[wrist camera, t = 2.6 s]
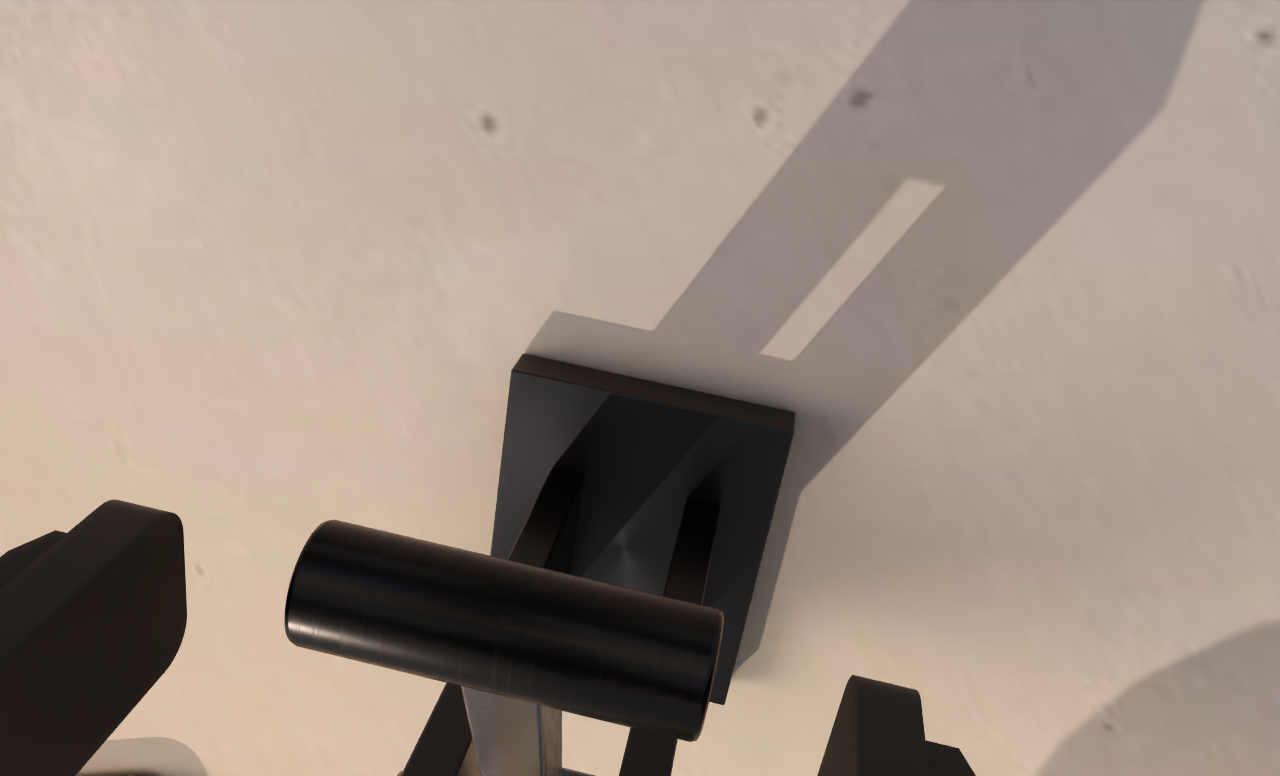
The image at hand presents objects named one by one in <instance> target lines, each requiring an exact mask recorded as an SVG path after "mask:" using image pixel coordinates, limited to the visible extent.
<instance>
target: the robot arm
mask: <svg viewBox="0 0 1280 776" xmlns="http://www.w3.org/2000/svg"><path fill="white" fill-rule="evenodd" d="M186 621H187V604H186V581H185V558H184V535H183V526H182V522H181V520H180V518H179V517H178V516H177V515H176V514H174V513H171V512H167V511H162V510H158V509H154V508H150V507H145V506H141V505H137V504H133V503H128V502H124V501H120V500H109V501H107V502H105V503H103V504H102V505H101V506H99V507H98V508H97V509H96V510H94V511H93V512H92V513H91V514H90V515H88V516H87V517H86V518H85V519H84V520H82V521H81V522H80V523H79V524H78V525H76V526H75V527H74V528H73V529H72V530H70V531H69V532H68V533H64V532H60V531H56V530H55V531H53V532H51V533H48V534H46V535H44V536H42V537H39V538H37V539H35V540H32V541H30V542H28V543H26V544H23V545H21V546H19V547H16V548H14V549H12V550H9V551H8V552H6V553H5V554H4V555H3V556H1V557H0V776H76V774H77V773H78V772H79V771H80V770H81V769H82V767H83V766H84V765H85V764H86V763H87V762H88V760H89V759H90V758H91V757H92V756H93V755H94V753H95V752H96V751H97V750H98V749H99V748H100V746H101V745H102V744H103V743H104V742H105V741H106V740H107V738H108V737H109V736H110V735H111V734H112V733H113V731H114V730H115V729H116V728H117V727H118V726H119V724H120V723H121V722H122V721H123V720H124V719H125V717H126V716H127V715H128V714H129V713H130V712H131V710H132V709H133V708H134V707H135V706H136V705H137V704H138V702H139V701H140V700H141V699H142V698H143V697H144V695H145V694H146V693H147V692H148V691H149V690H150V688H151V687H152V686H153V685H154V684H155V683H156V681H157V680H158V679H159V678H160V677H161V676H162V674H163V673H164V672H165V671H166V670H167V668H168V667H169V666H170V664H171V663H172V661H173V660H174V658H175V656H176V654H177V652H178V650H179V647H180V645H181V642H182V639H183V636H184V633H185V628H186ZM818 776H976V775H975V774H974V772H973V771H972V769H971V767H970V766H969V764H968V763H967V761H966V759H965V758H964V756H963V754H962V753H961V751H960V750H959V748H955V747H951V746H946V745H942V744H938V743H934V742H930V741H925V733H924V724H923V715H922V706H921V699H920V695H919V692H918V691H917V690H915V689H910V688H906V687H902V686H898V685H893V684H889V683H885V682H881V681H876V680H872V679H868V678H864V677H859V676H855V675H852V676H851V677H850V679H849V680H848V683H847V685H846V688H845V691H844V694H843V697H842V700H841V703H840V707H839V710H838V713H837V716H836V719H835V722H834V725H833V728H832V732H831V735H830V738H829V741H828V744H827V747H826V750H825V754H824V757H823V760H822V763H821V766H820V769H819V773H818Z"/></svg>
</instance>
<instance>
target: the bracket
mask: <svg viewBox="0 0 1280 776" xmlns="http://www.w3.org/2000/svg"><path fill="white" fill-rule="evenodd" d="M794 424H795V413H794V412H790V411H785V410H780V409H776V408H771V407H767V406H762V405H757V404H753V403H748V402H743V401H739V400H734V399H730V398H725V397H720V396H716V395H711V394H706V393H702V392H697V391H693V390H688V389H683V388H679V387H674V386H669V385H665V384H660V383H656V382H651V381H646V380H642V379H637V378H632V377H628V376H623V375H619V374H614V373H609V372H605V371H600V370H595V369H591V368H586V367H582V366H577V365H572V364H568V363H563V362H558V361H554V360H549V359H545V358H540V357H535V356H531V355H526V354H522V356H521V357H520V359H519V360H518V362H517V363H516V365H515V366H514V368H513V369H512V371H511V379H510V388H509V397H508V406H507V415H506V424H505V432H504V441H503V450H502V459H501V468H500V477H499V485H498V494H497V503H496V512H495V521H494V530H493V538H492V547H491V556H493V557H497V558H502V559H506V560H510V561H514V562H519V563H523V564H527V565H532V566H536V567H540V568H545V569H549V570H553V571H557V572H562V573H566V574H570V575H575V576H579V577H583V578H587V579H592V580H596V581H600V582H605V583H609V584H613V585H618V586H622V587H626V588H630V589H635V590H639V591H643V592H648V593H652V594H656V595H661V596H665V597H669V598H673V599H678V600H682V601H686V602H691V603H695V604H699V605H704V606H708V607H712V608H716V609H719V610H720V611H721V612H723V616H724V626H723V633H722V639H721V645H720V650H719V656H718V661H717V666H716V671H715V676H714V681H713V685H712V690H711V695H710V699H709V702H713V703H717V704H721V705H724V704H725V701H726V697H727V693H728V689H729V685H730V681H731V677H732V673H733V669H734V665H735V661H736V658H737V654H738V650H739V646H740V642H741V638H742V634H743V630H744V626H745V622H746V618H747V614H748V610H749V606H750V603H751V599H752V595H753V591H754V587H755V583H756V579H757V575H758V571H759V567H760V563H761V559H762V555H763V551H764V548H765V544H766V540H767V536H768V532H769V528H770V524H771V520H772V516H773V512H774V508H775V504H776V500H777V496H778V493H779V489H780V485H781V481H782V477H783V473H784V469H785V465H786V461H787V457H788V453H789V449H790V445H791V441H792V438H793V434H794ZM676 745H677V739H676V738H672V737H668V736H664V735H660V734H656V733H652V732H648V731H644V730H640V729H635V728H630V732H629V736H628V740H627V744H626V749H625V753H624V757H623V761H622V765H621V769H620V773H619V776H671V772H672V767H673V761H674V756H675V750H676ZM397 776H481V774H480V770H479V765H478V761H477V756H476V752H475V747H474V743H473V738H472V734H471V729H470V725H469V720H468V716H467V711H466V707H465V702H464V698H463V693H462V689H461V686H459V685H455V684H451V683H446V685H445V687H444V689H443V691H442V693H441V695H440V697H439V699H438V701H437V703H436V705H435V707H434V709H433V711H432V713H431V715H430V717H429V719H428V722H427V724H426V726H425V728H424V730H423V732H422V734H421V736H420V738H419V740H418V742H417V744H416V746H415V748H414V750H413V752H412V754H411V756H410V758H409V760H408V762H407V764H406V766H405V768H404V770H403V771H401V772H400V773H399V774H398V775H397Z"/></svg>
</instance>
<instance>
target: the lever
mask: <svg viewBox="0 0 1280 776" xmlns="http://www.w3.org/2000/svg"><path fill="white" fill-rule="evenodd" d="M723 626H724V616H723V612H721V611H720V610H719V609H716V608H712V607H708V606H704V605H699V604H695V603H691V602H686V601H682V600H678V599H673V598H669V597H665V596H661V595H656V594H652V593H648V592H643V591H639V590H635V589H630V588H626V587H622V586H618V585H613V584H609V583H605V582H600V581H596V580H592V579H587V578H583V577H579V576H575V575H570V574H566V573H562V572H557V571H553V570H549V569H545V568H540V567H536V566H532V565H527V564H523V563H519V562H514V561H510V560H506V559H502V558H497V557H493V556H489V555H484V554H480V553H476V552H471V551H467V550H463V549H459V548H454V547H450V546H446V545H441V544H437V543H433V542H428V541H424V540H420V539H416V538H411V537H407V536H403V535H398V534H394V533H390V532H385V531H381V530H377V529H373V528H368V527H364V526H360V525H355V524H351V523H347V522H343V521H338V520H330V521H325V522H323V523H322V524H320V525H319V526H318V527H317V528H316V529H315V531H314V532H313V533H312V534H311V536H310V537H309V539H308V541H307V542H306V544H305V546H304V548H303V550H302V552H301V554H300V556H299V558H298V561H297V563H296V566H295V568H294V571H293V574H292V577H291V581H290V584H289V589H288V593H287V599H286V606H285V631H286V635H287V637H288V639H289V640H290V641H291V642H292V643H293V644H294V645H296V646H299V647H303V648H307V649H311V650H315V651H319V652H323V653H327V654H331V655H336V656H340V657H344V658H348V659H352V660H356V661H360V662H364V663H368V664H373V665H377V666H381V667H385V668H389V669H393V670H397V671H401V672H405V673H410V674H414V675H418V676H422V677H426V678H430V679H434V680H438V681H442V682H446V683H451V684H455V685H459V686H461V689H462V693H463V698H464V702H465V707H466V711H467V716H468V720H469V725H470V729H471V734H472V738H473V743H474V747H475V752H476V756H477V761H478V765H479V770H480V774H481V776H594V775H590V774H586V773H582V772H578V771H574V770H570V769H566V768H562V711H566V712H570V713H574V714H578V715H582V716H586V717H590V718H594V719H598V720H603V721H607V722H611V723H615V724H619V725H623V726H627V727H631V728H635V729H640V730H644V731H648V732H652V733H656V734H660V735H664V736H668V737H672V738H676V739H681V740H685V741H689V742H692V741H697V739H698V738H699V736H700V734H701V731H702V728H703V724H704V720H705V716H706V712H707V708H708V704H709V699H710V695H711V690H712V685H713V681H714V676H715V671H716V666H717V661H718V656H719V650H720V645H721V639H722V633H723Z"/></svg>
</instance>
